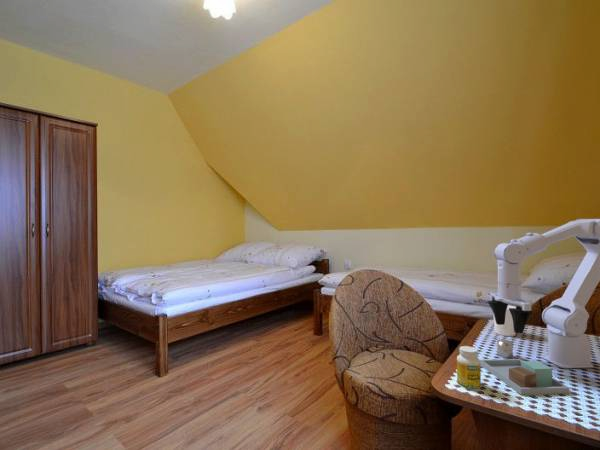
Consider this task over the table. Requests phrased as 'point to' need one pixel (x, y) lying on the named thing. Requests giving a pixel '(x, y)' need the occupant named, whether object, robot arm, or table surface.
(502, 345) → the cylinder
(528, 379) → the walnut cube
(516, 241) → the robot arm
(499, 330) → the white cup
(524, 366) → the teal block
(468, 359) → the supplement bottle
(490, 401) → the table surface
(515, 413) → the table surface
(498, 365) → the tray
